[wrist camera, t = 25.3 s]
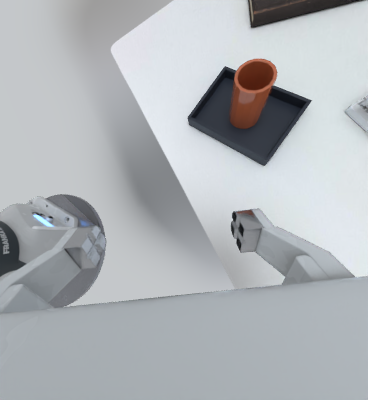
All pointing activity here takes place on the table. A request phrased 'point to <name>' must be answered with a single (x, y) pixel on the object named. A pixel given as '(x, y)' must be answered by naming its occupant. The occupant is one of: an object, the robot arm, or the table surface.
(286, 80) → the table surface
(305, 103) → the tray
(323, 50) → the table surface
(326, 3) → the hardcover book
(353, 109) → the security camera
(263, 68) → the cup
